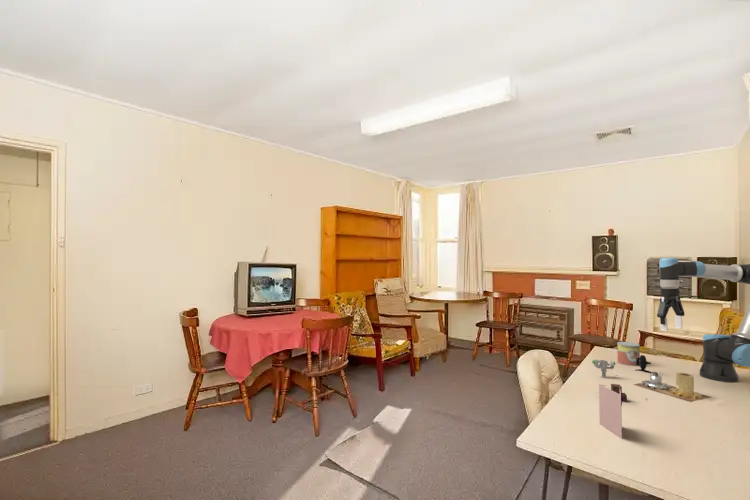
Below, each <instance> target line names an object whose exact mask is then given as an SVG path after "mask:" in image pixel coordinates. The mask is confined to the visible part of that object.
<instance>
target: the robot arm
mask: <svg viewBox="0 0 750 500" xmlns="http://www.w3.org/2000/svg"><path fill="white" fill-rule="evenodd" d="M658 263H659V264H658V265H659V266H658V268H659V285H660V286H659V287H660V295H661V296H663V297H660V298H659V305H658V309H657V314H656V317H657V318H659V323H660V324H659V325H660V327H659V328H660V331H662V332H668V318H667V316H668V313H669V311H670V308H672V310H673V312H674V313H675V315H674V321H675V322H674V323H675V325H674V327H675V329H678V330H679V329H680V330H681V329H683V317H684V316H685V309H684V306H683V305H682V302H681V297H680V295H681V294H680V289H679V287H680V283H681V282H680V281H679V280H680V277H689V278H691V277H693V278H703V279H704V278H705V279H717V280H726V281H727V280H728V281H730V282H733V283H740V284H746V285H750V263H747V264H746V263H745V264H743V263H742V264H739V263H738V264H736V263H735V264H734V263H733V264H731V265H726V264H725V265H724V264H709V263H704V262H702V261H697V260H694V261H693V260H690V261H689V260H688V261H685V260H684V261H679V259H678V258H677V257H662V258H660V259H659V262H658ZM702 350H703V351H702V352H703V355H702V356H703V360H702V361H703V362H702V364H701V367H700V369H699V376H701V377H703V378H706V379H708V380H714V381H719V382H728V383H737V382H739V375H738V373H737V371H736V368H735V366H734V364H736V365H738V366H739V367H740V366H741V367H746V368H750V302H749V304H748V306H747V308H746V310H745V312H744V315H743V317H742V320H741V322H740V324H739V327H738V329H737V330H736V332H733V333H731V334H715V333H714V334H713V333H712V334H711V333H709V334H707V333H706V334H704V335H703V336H702Z"/></svg>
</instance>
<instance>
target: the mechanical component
mask: <svg viewBox="0 0 750 500" xmlns="http://www.w3.org/2000/svg"><path fill="white" fill-rule="evenodd" d="M592 364H593V366H594V367H595V368H597V369H600V371H601V374H602V375H601V377H602V378H604V379H606V377H607V374H606V373H607V372H608V371H607V370H614V369H615V366H616V362H615V361H613V360H611V361H610V363H608V361H607V360H605V359H593V360H592Z"/></svg>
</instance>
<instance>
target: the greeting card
mask: <svg viewBox="0 0 750 500" xmlns="http://www.w3.org/2000/svg"><path fill="white" fill-rule="evenodd" d="M622 393H623V391H622V392H621V391H620V394H618V393H616V392H614V391H612V390H611V388H607V387H606V386H604V385H603V384H600V383H599V384H598V394H599V395H598V396H599V397H598V399H599V400H598V401H599V402H598V403H599V404H598V405H599V408H598V409H599V410H598V411H599V415H598V416H599V425H600V426H601V425H602V427H603V428H604V429H606V430H608V431H609V432H611V433H612V434H613V435H615V436H616V437H619V439H623V437H622V436H623V428H622V427H623V426H622V421H623V419H622V416H623V415H622V405H623V403H624V402H623V400H624V398H623V395H622Z"/></svg>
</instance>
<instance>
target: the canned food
mask: <svg viewBox="0 0 750 500" xmlns="http://www.w3.org/2000/svg"><path fill="white" fill-rule="evenodd" d="M616 344H617V347H616V348H617V363H618V364H620V365H623V366H628V367H640V366H639V365H637V362H636V358H640V356H641V354H640V352H641V351H640V344H639V343H634V342H629V341H617V342H616Z"/></svg>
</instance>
